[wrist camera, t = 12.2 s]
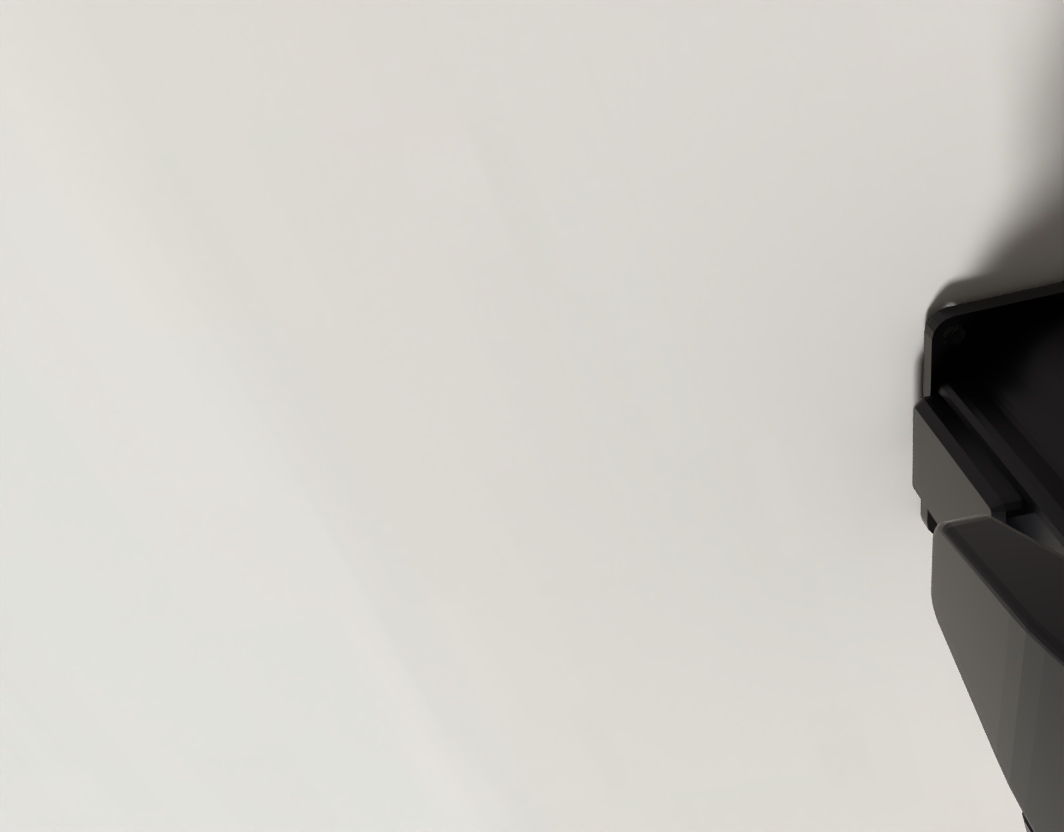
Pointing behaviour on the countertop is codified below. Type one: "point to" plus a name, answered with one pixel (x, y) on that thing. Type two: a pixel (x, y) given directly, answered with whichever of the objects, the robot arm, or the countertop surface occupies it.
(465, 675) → the countertop surface
